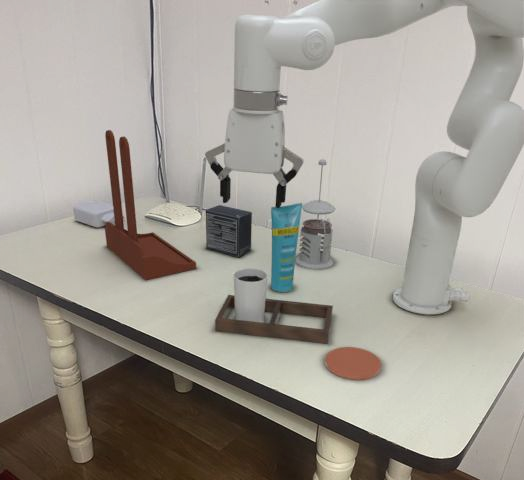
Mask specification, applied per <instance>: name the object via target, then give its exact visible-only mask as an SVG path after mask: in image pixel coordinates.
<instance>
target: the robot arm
mask: <svg viewBox="0 0 524 480" xmlns="http://www.w3.org/2000/svg"><path fill="white" fill-rule="evenodd" d="M452 7H466V17H467V21H468V24H469V27H470V29H471V32H472V35H473V38H474V47H475V49H474V50H475V51H474V52H475V54H474V59H473V63H472V66H471V69H470V70H469V74H468V76H467V78H466V81H465V83H464V85H463V87H462V89H461V92H460V94H459V96H458V98H457V100H456V102H455V104H454V107H453V109H452V111H451V113H450V116H449V118H448V121H447V125H446V134H447V137H448V139H449V141H451V142H452V143H453V144H455V145H456V146H458V147H460V148H462V149H465V150H467V151H468V152H467V155H466V156H463V155H461V154H459V153H456V152H452V151H445V150H444V151H437V152H434V153H431V154H430V155H428V156H427V157H425V158H424V160H423V161H422V162H421V164H420V166H419V167H418V169H417V172H416V177H415V184H414V185H415V186H414V188H415V189H414V191H415V193H414V196H415V198H414V200H415V201H414V214H413V220H412V227H411V232H410V238H409V243H408V250H407V256H406V260H405V267H404V272H403V277H402V278H403V279H402V285H401V287H398V288H397V289H395V290H394V291H393V294H392V300H393V302H394V304H395V305H397V306H398V307H399V308H401V309H403V310H405V311H408V312H411V313H414V314H420V315H428V316H429V315H430V316H431V315H440V314H444V313H446V312H448V311H450V310H451V308H452V305H453V301H454V300H455V301H460V302H469V301H470V297H471V295H470V294H471V293H470V292H467V291H463V288H462V287H460V288H459V287H452V286H451V285H450V281H451V276H452V270H453V267H454V266H453V265H454V261H455V256H456V253H457V248H458V245H459V244H458V243H459V239H460V234H461V230H462V223H463V222H462V221H463V218H475V217H477V216H480V215H482V214H483V213H484V212H485V211H487V210H488V209H489V208H490V207H491V205H492V204H493V203H494V201H495V200H496V198H497V197H498V194H500V191H501V189H502V187H503V185H504V184H505V182H506V180H507V178H508V176H509V174H510V172H511V171H512V169H513V167H514V165H515V163H516V161H517V159H518V158H519V155H520V153H521V151H522V149H523V147H524V109H523V107H522V106H521V105H519V104H518V103H516V102H513V101H511V97H512V96H513V93H514V90H515V88H516V86H517V84H518V82H519V80H520V76H521V74H522V71H523V66H524V43H523V42H524V41H523V38H524V0H317V1H316V2H313V3H311V4H308V5H306V6H304V7H302V8H300V9H298V10H295V11H293V12H291V13H289V14H287V15H285V16H284V17H282V18H279V17H278V16H274V15H265V14H242V15H239V16H238V17H237V18H236V21H235V24H234V52H233V53H234V55H233V56H234V59H233V65H234V66H233V107H232V106H231V107H230V108H229V111H228V115H227V122H226V129H225V139H224V142H223V143H222V144H220V145H217V146H215V147H213V148H211V149H209V150H207V151H206V152H204V156H205V158H206V160H207V162H208V164H209V167H210V170H211V171H213V173H214V174H215V175H216V176H217V179H218V180H219V197H222V203H223V204H226V203H228V202H229V201H230V200H231V188H232V187H231V186H232V184H231V183H232V181H231V180H232V178H231V177H230V175H229V174H230V173H231V172H232V171H234V172H243V173H251V174H252V173H254V174H265V175H273V176H274V178H275V179H276V181H277V182H278V183H277V184H276V189H275V206H274V207H276V208H280V206H282V205H283V203H286V195H287V184H288V183H290V182H292V180H293V179H294V178H295V177H296V176H297V174H298V173H299V171H300V170H301V168H302V167H303V165H304V164H305V163H304V162H305V160H304V159H303V158H302V157H300V156H298V154H296V153H295V152H293V151H291V150H290V149H288V148H287V147H286V146H285V145H286V144H285V143H286V137H285V136H286V132H285V130H286V129H285V117H284V116H285V115H284V111H283V110H280V109H279V108H280V107H281V106H287V105H288V101H289V97H288V95H284V94H282V92H281V90H280V86H281V85H280V84H281V70H282V67H286V68H292V69H297V70H303V71H313V70H317V69H320V68H321V67H323V66H325V65H326V64H327V63H328V62H329V61H330V59H331V58H332V56H333V54H334V51H335V46H339V45H341V44H345V43H348V42H352V41H357V40H365V39H374V38H381V37H383V36H384V37H385V36H387V35H390V34H393V33H396V32H398V31H399V30H402V29H404V28H406V27H408V26H410V25H412V24H414V23H417V22H419V21H420V20H423V19H425V18H428V17H429V16H432V15H435V14H436V13H439V12H441V11H443V10H445V9H448V8H452ZM220 154H223V163H224V164H223V165H224V167H223V166H222V165H221V164H220V163H219V162H218V160H217V156H219V155H220ZM285 159H286V160H287V161H289V162H290V163H292V167H291V169H290V170H289V171H288V172H285V171H284V169H283V167H284V164H285Z"/></svg>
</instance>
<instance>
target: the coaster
mask: <svg viewBox="0 0 524 480" xmlns="http://www.w3.org/2000/svg"><path fill="white" fill-rule="evenodd" d="M324 365H325V367H326V369H328V371H329V372H330V373H332V374H334V375H336V376H337V377H340V378H343V379H348V380H354V381H355V380H356V381H361V380H362V381H363V380H367V379H371V378H374V377H375V376H377V375H378V374H379V373H380V372H381V369H382V362H381V360H380V358H379V357H378V356H377V355H376V354H374V353H372V352H371V351H369V350H366V349H363V348H360V347H359V348H358V347H352V346H347V347H346V346H344V347H337V348H334V349H332V350H330V351H328V353H327V354H326V355H325V358H324Z"/></svg>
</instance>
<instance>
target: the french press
mask: <svg viewBox="0 0 524 480" xmlns="http://www.w3.org/2000/svg"><path fill="white" fill-rule="evenodd" d="M327 163H328V162H327V160H326V159H323V158H322V159H319V160H318V166H321V170H320V182H319V192H318V193H319V195H318V199H314V200H311V201H308V202H306V203H304V204H302V209H301V210H302V211H303V212H304V213H306V214H307V213H308V214H310V215H311V214H312V215H317V217H316V218H310V219H307V220H303V222H302V225H303V226H302V227H301V228H300V237H301V238H300V239H299V242H300V243H299V247H300V248H299V254H298V255H297V256H296V257H295V264H297V265H299V267H303V268H306V269H314V270H315V269H316V270H322V269H328V268H330V267H332V266H333V265H334V263H335V262H334V260H333V259H332V258H331V252H332V250H331V249H332V240H333V229H332V226H333V224H332V222H331V220H330V218H327V219H326V220H325V219H323V218H320V219H319V215H321V216H323V215H330V214H332V213H334V212H335V211H336V207H335V205H333V204H332V203H330V202H328V201H325V200H321V192H322V191H321V190H322V180H323V166H327ZM322 235H324V236H322ZM322 240H323V241H322Z"/></svg>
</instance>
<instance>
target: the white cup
mask: <svg viewBox="0 0 524 480" xmlns="http://www.w3.org/2000/svg"><path fill="white" fill-rule="evenodd" d="M268 277H269V275H268V273H267V272H266V271H265V270H263V269H258V268H252V267H249V268H248V267H247V268H241V269H238V270H236V271H234V272H233V295H234V298H235V308H234V313H235V314H234V316H235V317H234V318H235V319H234V320H243V321H252V322H261V323H265V312H266V311H265V301H266V299H267V286H268Z"/></svg>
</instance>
